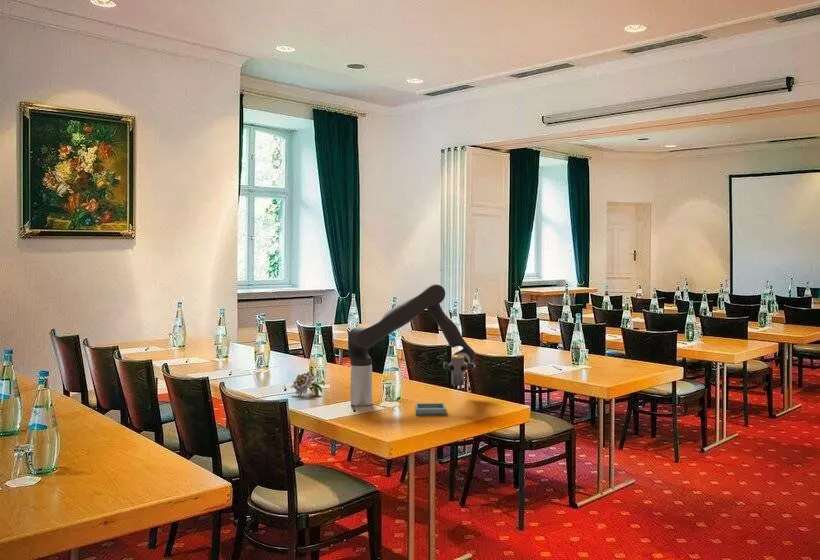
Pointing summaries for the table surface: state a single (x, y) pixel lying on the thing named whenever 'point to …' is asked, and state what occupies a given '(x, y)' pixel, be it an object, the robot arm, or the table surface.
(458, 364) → the block
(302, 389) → the passion flower
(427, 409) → the tray
